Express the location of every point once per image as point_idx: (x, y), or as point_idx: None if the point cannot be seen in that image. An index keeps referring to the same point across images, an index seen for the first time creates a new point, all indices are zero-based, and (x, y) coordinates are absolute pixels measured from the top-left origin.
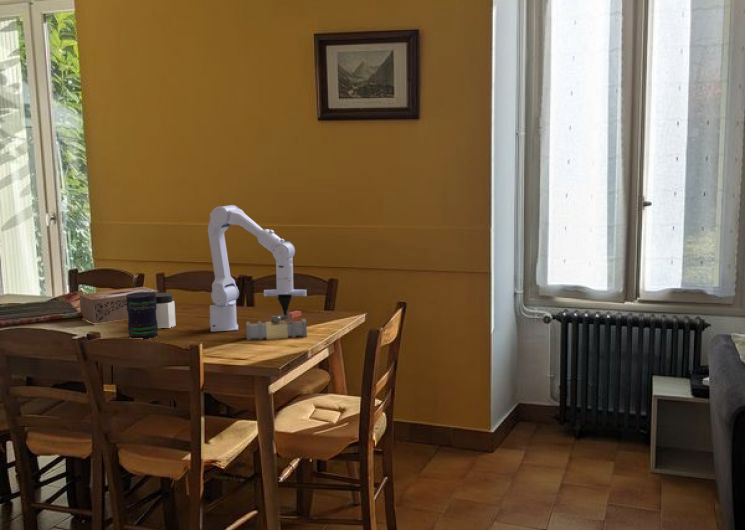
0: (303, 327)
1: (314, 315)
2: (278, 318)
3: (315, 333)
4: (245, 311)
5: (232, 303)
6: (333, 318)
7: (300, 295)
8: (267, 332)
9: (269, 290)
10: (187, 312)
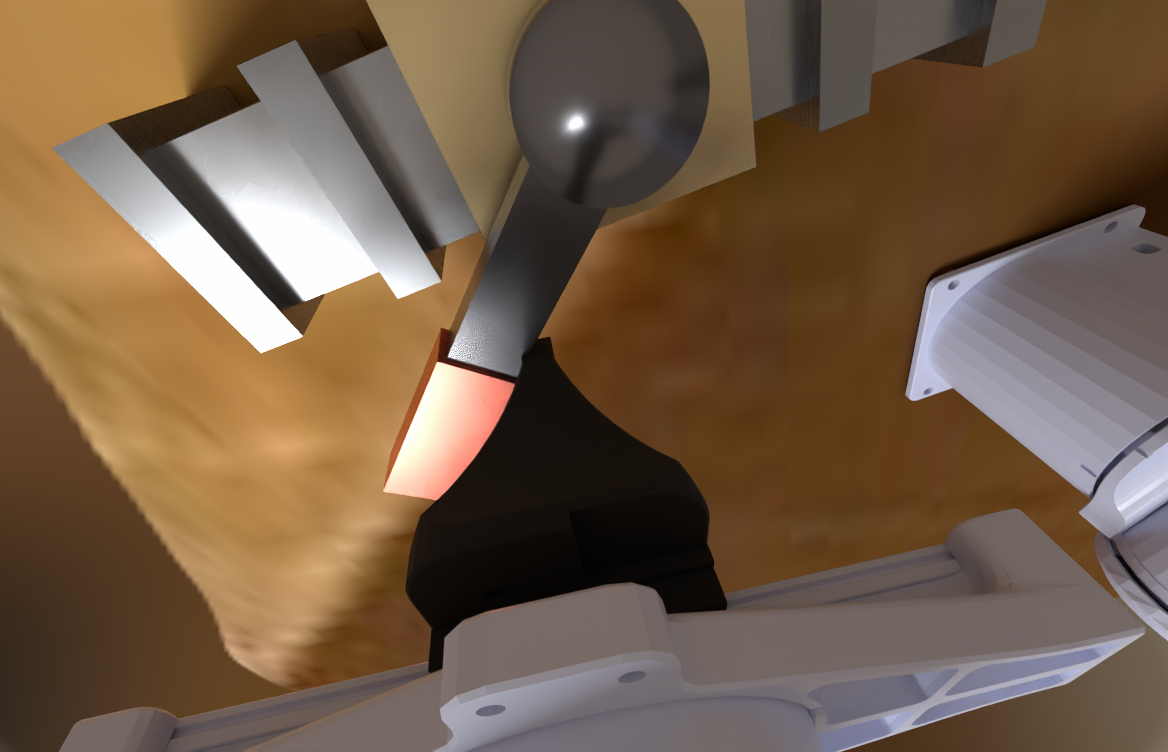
0: (155, 109)
1: None
2: (538, 9)
3: None
4: None
5: None
6: (374, 618)
7: (232, 714)
8: None
9: (987, 685)
10: (1066, 539)
